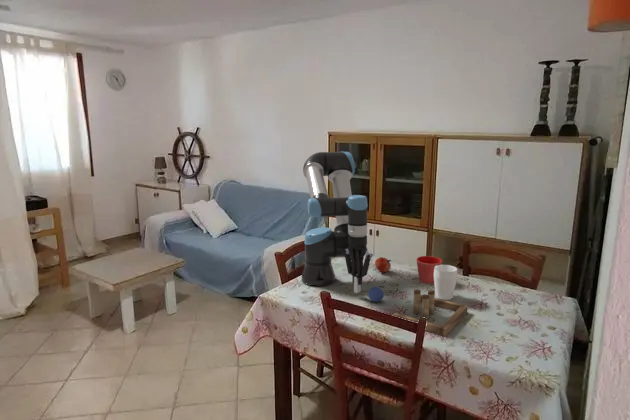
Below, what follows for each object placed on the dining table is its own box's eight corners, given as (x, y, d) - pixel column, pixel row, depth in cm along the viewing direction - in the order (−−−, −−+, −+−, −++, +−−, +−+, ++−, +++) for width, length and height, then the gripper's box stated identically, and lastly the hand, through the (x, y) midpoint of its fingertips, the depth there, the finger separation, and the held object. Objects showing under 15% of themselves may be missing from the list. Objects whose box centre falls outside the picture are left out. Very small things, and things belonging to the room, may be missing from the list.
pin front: (412, 312, 154) (412, 291, 152) (414, 310, 156) (415, 288, 154) (418, 314, 153) (419, 292, 151) (420, 312, 155) (421, 290, 153)
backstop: (393, 320, 148) (393, 314, 148) (418, 299, 165) (418, 293, 165) (445, 336, 137) (446, 329, 136) (467, 312, 154) (467, 306, 154)
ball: (365, 302, 164) (365, 287, 163) (373, 297, 169) (373, 283, 167) (379, 305, 160) (379, 291, 159) (386, 300, 165) (386, 286, 164)
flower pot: (445, 284, 181) (446, 262, 179) (421, 285, 179) (422, 264, 177) (434, 275, 191) (435, 255, 189) (412, 277, 190) (412, 256, 188)
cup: (457, 302, 163) (459, 272, 161) (433, 300, 165) (434, 271, 162) (454, 292, 172) (456, 265, 169) (431, 291, 173) (433, 263, 171)
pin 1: (420, 318, 150) (421, 296, 148) (423, 316, 152) (424, 293, 150) (426, 320, 148) (427, 297, 146) (429, 317, 150) (430, 295, 148)
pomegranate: (373, 278, 195) (389, 269, 189) (366, 263, 198) (381, 254, 192) (382, 275, 201) (397, 266, 195) (375, 261, 203) (390, 252, 197)
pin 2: (425, 313, 154) (426, 291, 152) (428, 311, 155) (429, 289, 154) (432, 315, 152) (433, 293, 150) (434, 312, 154) (435, 290, 152)
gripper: (338, 234, 165) (338, 290, 170) (366, 239, 157) (366, 298, 162) (349, 230, 171) (349, 285, 175) (376, 235, 163) (376, 292, 167)
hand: (357, 291), depth 169 cm, fingers closed
